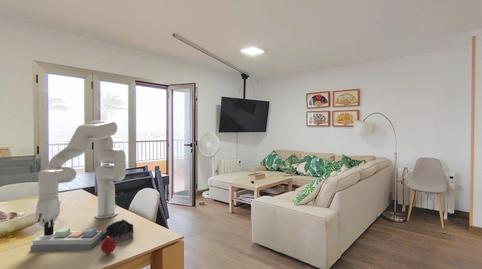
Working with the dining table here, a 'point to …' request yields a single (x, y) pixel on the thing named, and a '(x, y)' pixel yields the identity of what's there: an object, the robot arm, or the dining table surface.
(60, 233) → the key sage
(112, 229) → the crystal cluster
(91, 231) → the key slate
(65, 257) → the dining table surface
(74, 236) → the key terracotta
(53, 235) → the key ivory
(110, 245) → the onion
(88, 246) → the keypad board
